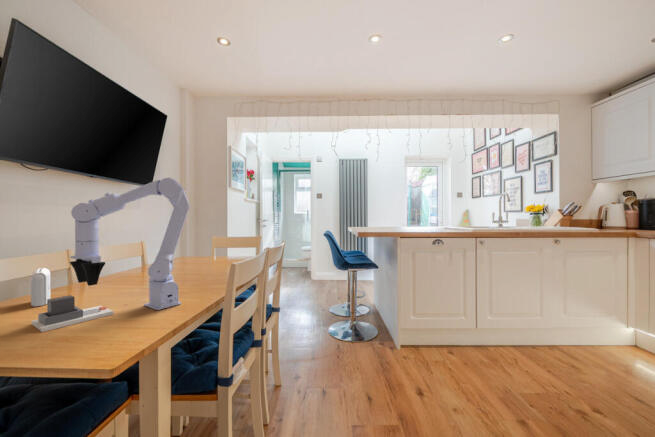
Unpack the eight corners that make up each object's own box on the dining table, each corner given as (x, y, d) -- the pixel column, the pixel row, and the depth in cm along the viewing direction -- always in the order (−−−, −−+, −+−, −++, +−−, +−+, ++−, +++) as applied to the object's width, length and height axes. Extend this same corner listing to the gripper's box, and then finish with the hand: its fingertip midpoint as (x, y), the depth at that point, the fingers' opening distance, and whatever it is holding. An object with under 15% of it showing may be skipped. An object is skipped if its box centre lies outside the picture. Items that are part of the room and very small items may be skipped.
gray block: (74, 317, 81) (74, 297, 81) (51, 322, 77) (51, 301, 77) (70, 314, 83) (70, 295, 83) (47, 320, 79) (47, 299, 79)
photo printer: (35, 300, 100) (34, 267, 100) (51, 298, 103) (51, 265, 103) (29, 308, 92) (29, 271, 92) (47, 305, 95) (47, 269, 95)
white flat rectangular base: (113, 314, 87) (113, 304, 87) (41, 332, 73) (41, 320, 73) (100, 308, 92) (100, 299, 92) (31, 324, 79) (31, 313, 79)
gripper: (62, 241, 89) (62, 283, 89) (79, 243, 81) (80, 289, 81) (90, 239, 95) (90, 278, 95) (108, 241, 87) (108, 284, 87)
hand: (87, 283), depth 88 cm, fingers open, 7 cm apart
